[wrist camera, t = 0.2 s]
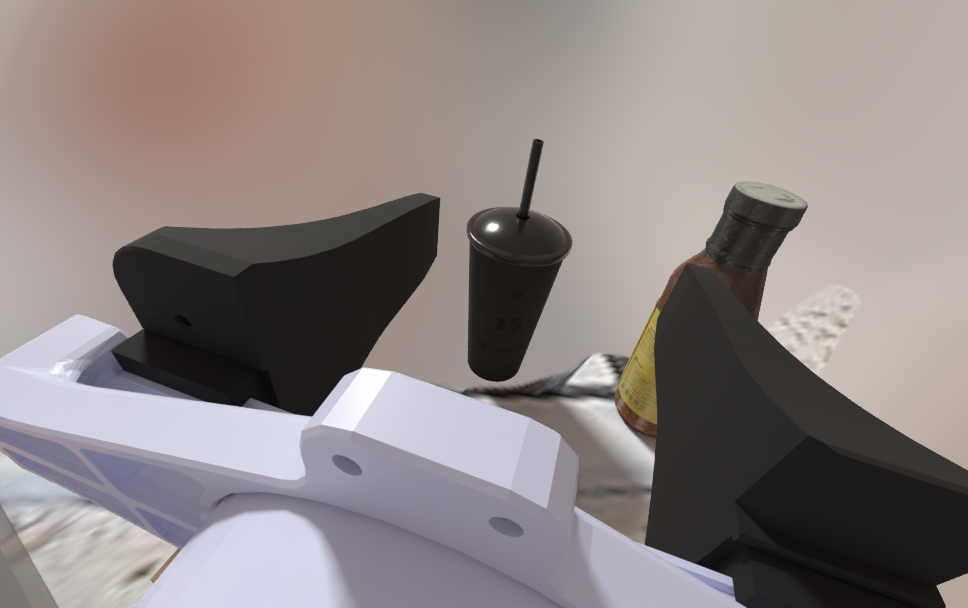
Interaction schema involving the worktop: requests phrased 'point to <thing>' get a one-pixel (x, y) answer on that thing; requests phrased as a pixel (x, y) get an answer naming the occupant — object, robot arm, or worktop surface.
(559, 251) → the drinking cup
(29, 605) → the dispenser
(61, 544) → the worktop surface
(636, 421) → the sauce bottle
